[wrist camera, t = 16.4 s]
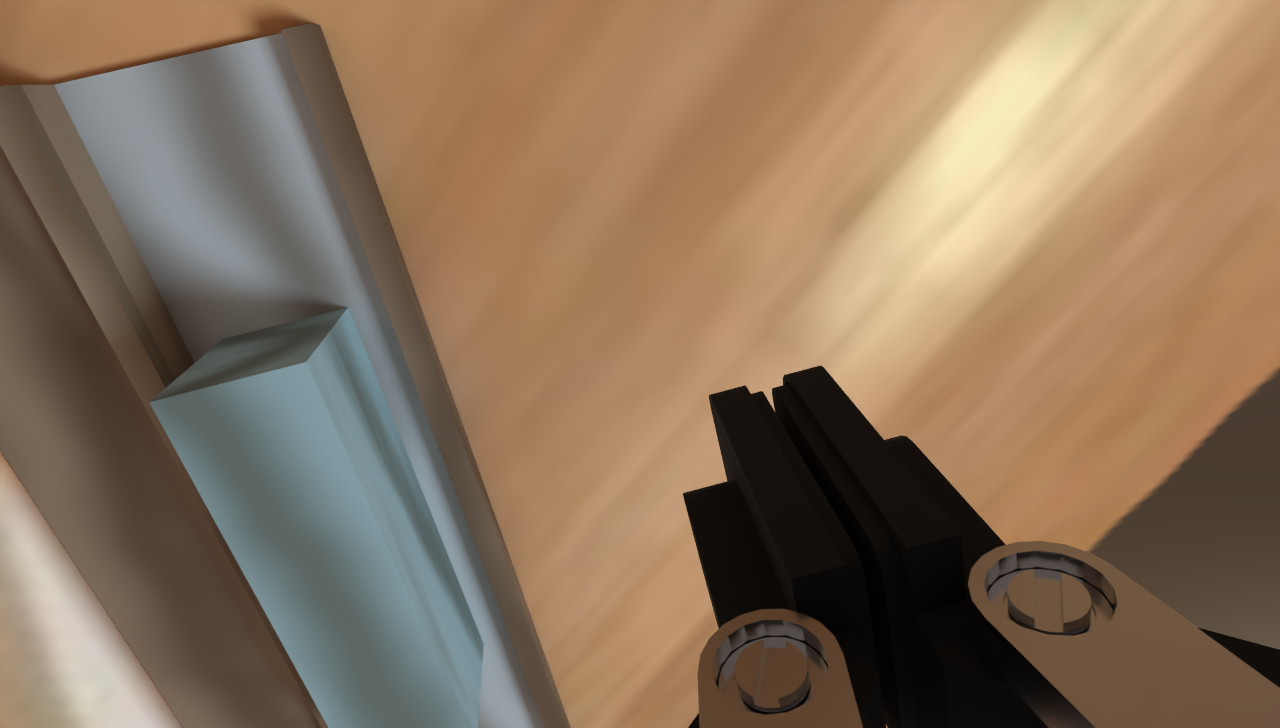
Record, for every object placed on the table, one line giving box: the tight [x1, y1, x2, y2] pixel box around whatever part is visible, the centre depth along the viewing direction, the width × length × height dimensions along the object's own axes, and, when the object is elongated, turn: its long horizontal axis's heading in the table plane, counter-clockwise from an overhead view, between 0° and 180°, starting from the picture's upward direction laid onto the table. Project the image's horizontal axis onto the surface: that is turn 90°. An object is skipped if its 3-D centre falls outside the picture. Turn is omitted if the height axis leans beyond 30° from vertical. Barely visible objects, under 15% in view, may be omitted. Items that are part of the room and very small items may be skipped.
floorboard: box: [0, 23, 570, 728], centre depth 31 cm, size 16×38×3 cm, turn 13°
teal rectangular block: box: [149, 308, 484, 728], centre depth 29 cm, size 5×18×6 cm, turn 13°
